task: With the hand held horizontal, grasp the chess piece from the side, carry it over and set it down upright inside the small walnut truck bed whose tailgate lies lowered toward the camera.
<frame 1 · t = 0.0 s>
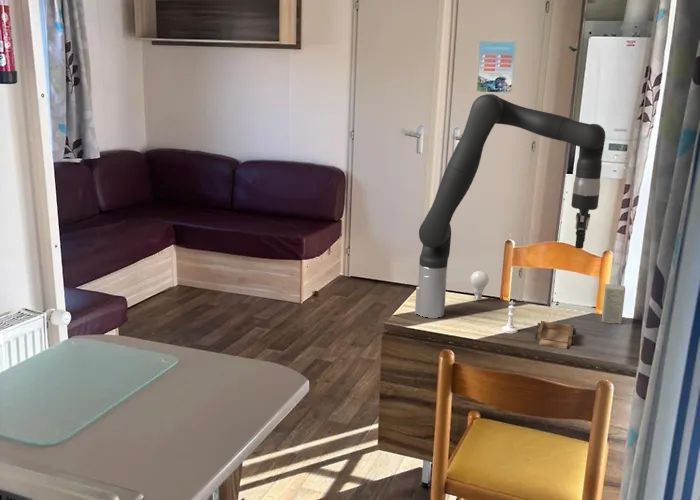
hand: (579, 245, 207), 29 cm above the table, tool pointing down, fingers open, 8 cm apart
chess piece: (509, 331, 217), on the table
truck bed: (555, 337, 212), on the table
skincare box: (610, 321, 228), on the table
lightbulb: (477, 300, 245), on the table
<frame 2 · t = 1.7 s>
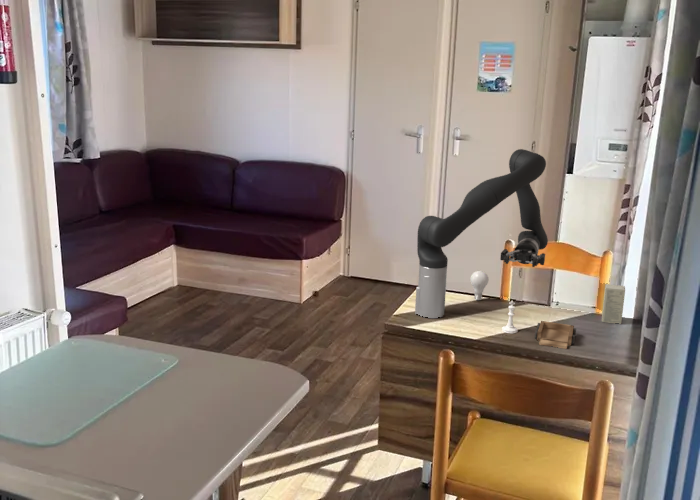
hand: (520, 262, 222), 20 cm above the table, tool horizontal, fingers open, 8 cm apart
nothing on the table moved.
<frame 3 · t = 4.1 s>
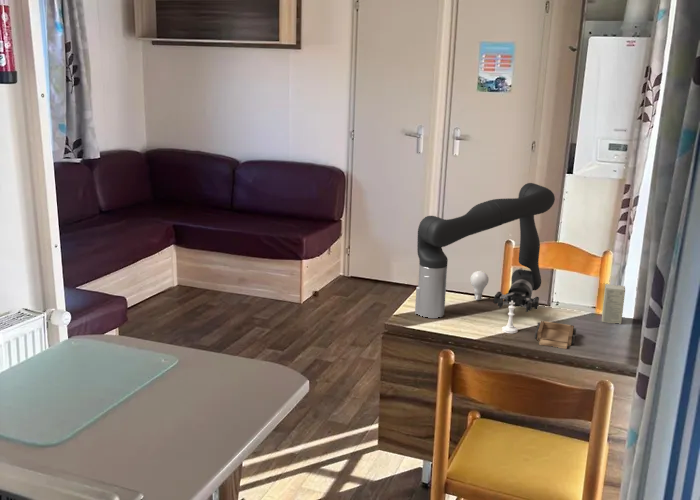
hand: (513, 307, 221), 6 cm above the table, tool horizontal, fingers open, 8 cm apart
nothing on the table moved.
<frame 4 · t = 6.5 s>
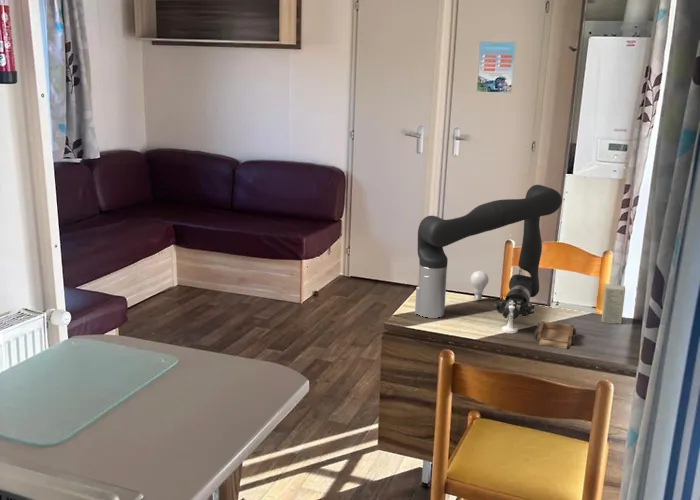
hand: (510, 315, 213), 6 cm above the table, tool horizontal, fingers closed on chess piece
chess piece: (509, 331, 217), on the table, touching gripper
everything else where it was.
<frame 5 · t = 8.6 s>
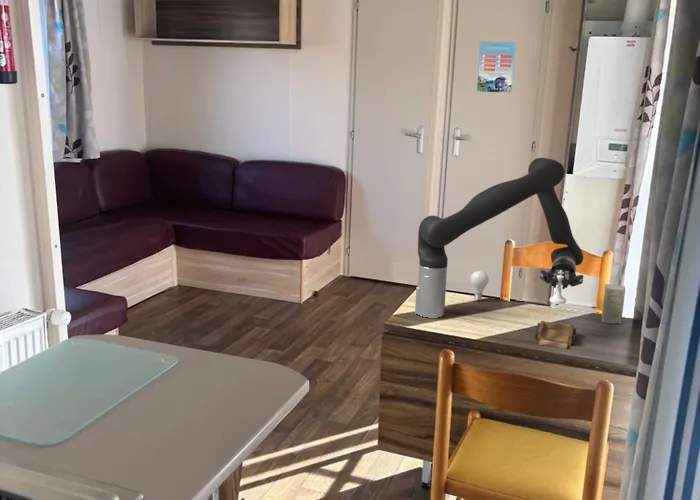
hand: (559, 285, 205), 18 cm above the table, tool horizontal, fingers closed on chess piece
chess piece: (557, 301, 210), point 12 cm above the table, touching gripper
everything else where it was.
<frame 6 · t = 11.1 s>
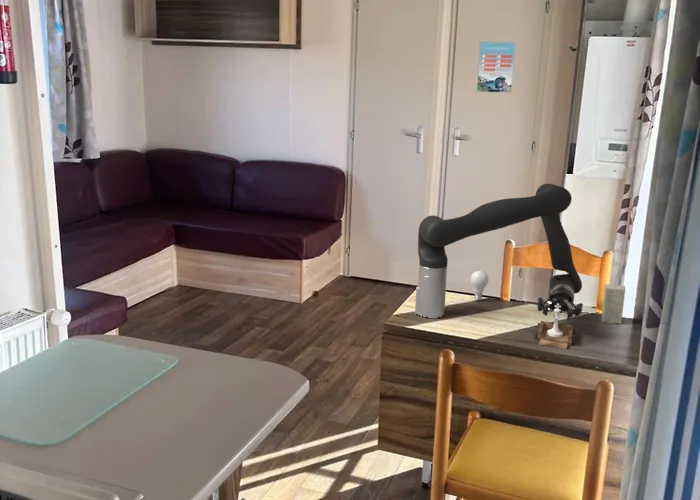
hand: (557, 314, 208), 8 cm above the table, tool horizontal, fingers open, 6 cm apart
chess piece: (554, 334, 212), point 1 cm above the table, touching truck bed
everything else where it was.
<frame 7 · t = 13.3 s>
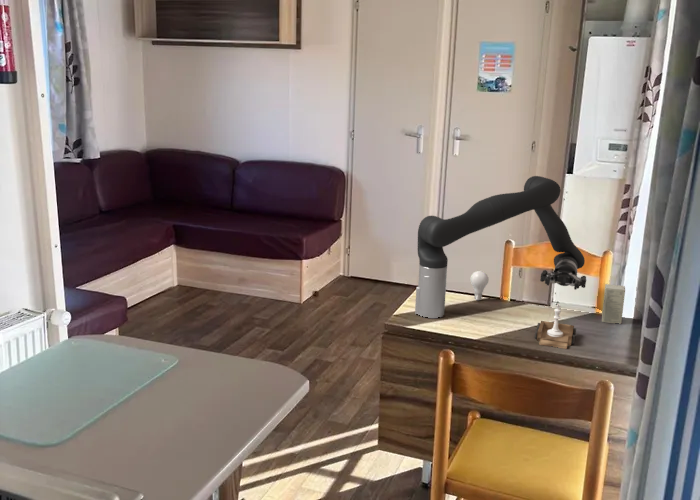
hand: (561, 284, 219), 14 cm above the table, tool horizontal, fingers open, 8 cm apart
nothing on the table moved.
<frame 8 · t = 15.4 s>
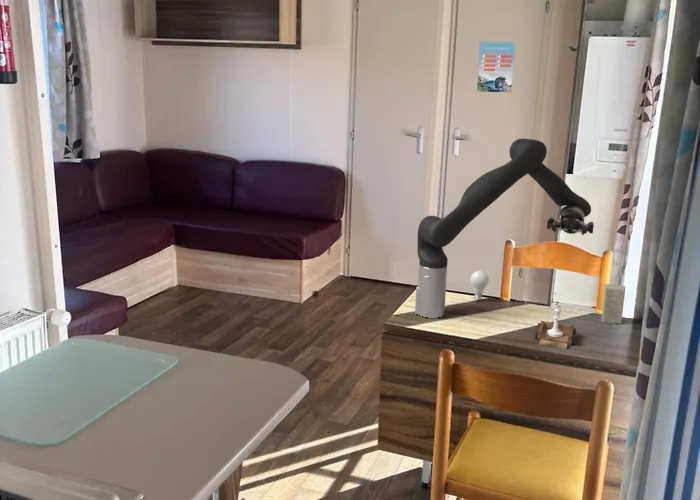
hand: (568, 230, 214), 32 cm above the table, tool horizontal, fingers open, 8 cm apart
nothing on the table moved.
at the end: chess piece inside the target area on the truck bed (0.2 cm from its centre), point 0.8 cm above the truck bed's base; chess piece tilted 0°; the gripper is holding nothing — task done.
